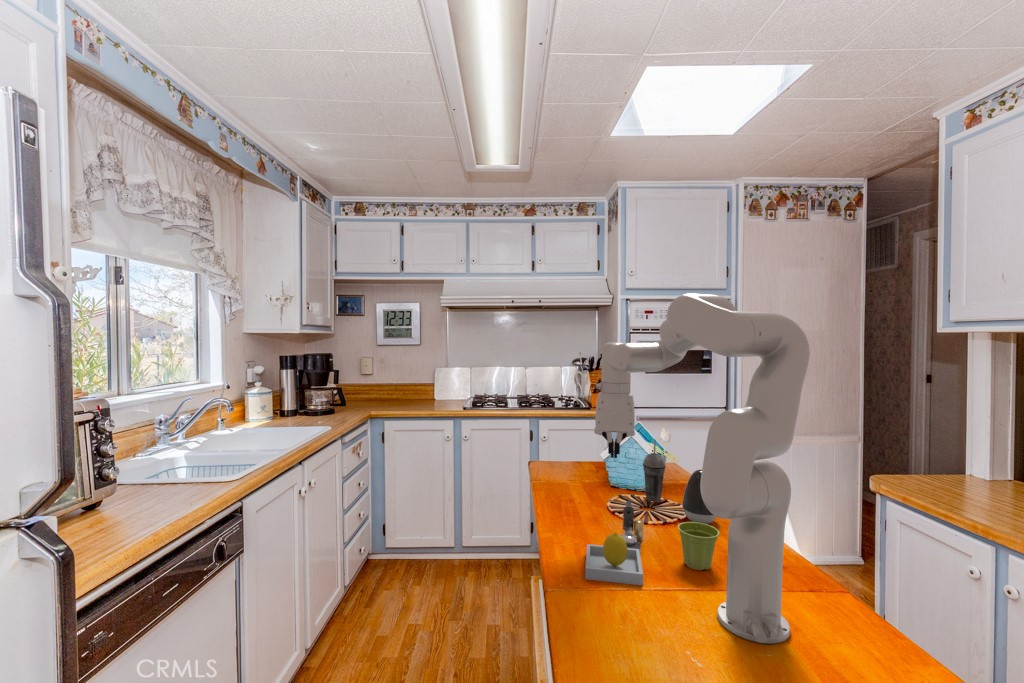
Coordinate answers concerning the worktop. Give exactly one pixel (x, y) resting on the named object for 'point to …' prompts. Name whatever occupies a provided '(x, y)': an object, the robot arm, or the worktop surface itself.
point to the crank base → (637, 534)
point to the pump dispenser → (696, 501)
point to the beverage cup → (653, 475)
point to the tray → (605, 571)
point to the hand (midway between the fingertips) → (613, 456)
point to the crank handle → (628, 524)
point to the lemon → (615, 549)
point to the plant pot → (698, 544)
